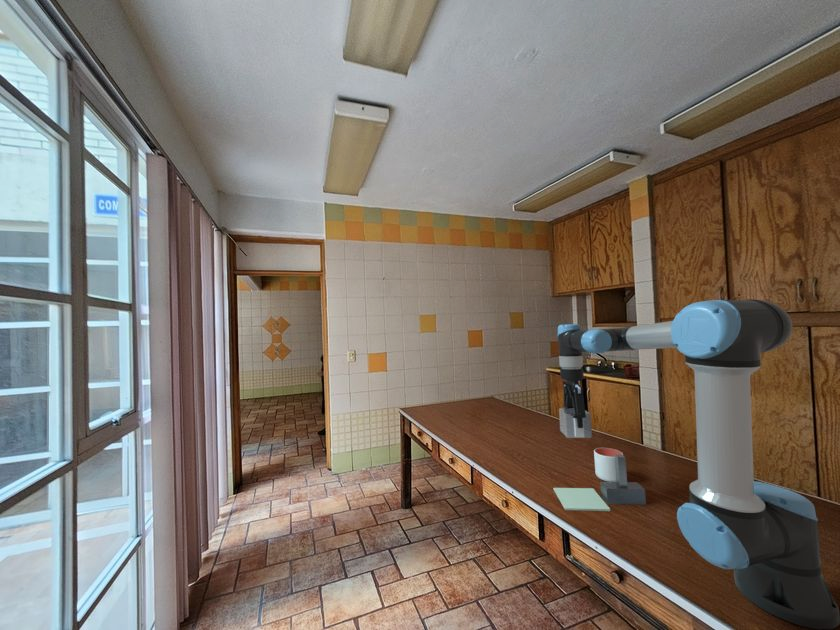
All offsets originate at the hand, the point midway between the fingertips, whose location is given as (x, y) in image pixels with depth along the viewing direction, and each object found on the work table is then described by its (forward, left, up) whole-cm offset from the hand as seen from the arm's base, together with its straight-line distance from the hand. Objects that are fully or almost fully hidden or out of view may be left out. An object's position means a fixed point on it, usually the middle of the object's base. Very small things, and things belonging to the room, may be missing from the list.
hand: (575, 432), depth 115 cm
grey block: (0, -14, -23) cm, 27 cm away
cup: (+17, -17, -23) cm, 33 cm away
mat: (0, 0, -23) cm, 23 cm away
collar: (0, 0, 0) cm, 0 cm away
